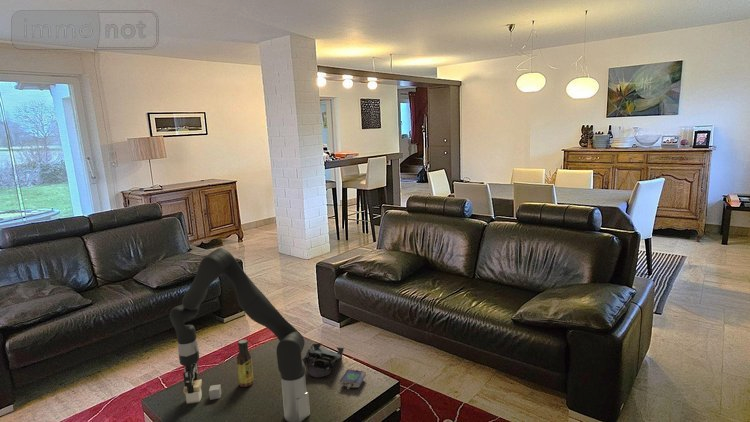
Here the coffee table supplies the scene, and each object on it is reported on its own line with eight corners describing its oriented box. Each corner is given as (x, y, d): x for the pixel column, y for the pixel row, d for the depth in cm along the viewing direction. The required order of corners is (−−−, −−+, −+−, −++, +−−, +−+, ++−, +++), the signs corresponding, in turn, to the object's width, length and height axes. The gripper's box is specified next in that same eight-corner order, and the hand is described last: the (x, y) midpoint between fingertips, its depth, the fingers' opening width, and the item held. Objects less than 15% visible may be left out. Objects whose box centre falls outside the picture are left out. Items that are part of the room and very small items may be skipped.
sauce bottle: (249, 388, 184) (245, 345, 181) (236, 387, 185) (231, 344, 182) (256, 380, 190) (252, 338, 187) (243, 379, 191) (239, 338, 188)
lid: (202, 383, 180) (201, 377, 180) (199, 391, 174) (198, 385, 174) (187, 385, 179) (186, 380, 179) (183, 393, 173) (183, 387, 173)
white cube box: (201, 395, 180) (200, 384, 180) (199, 402, 176) (198, 390, 175) (189, 397, 179) (188, 386, 179) (186, 404, 175) (185, 392, 174)
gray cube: (221, 392, 181) (220, 384, 181) (219, 398, 178) (218, 389, 177) (211, 394, 181) (210, 385, 180) (209, 399, 177) (208, 390, 176)
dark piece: (347, 358, 206) (346, 341, 204) (332, 381, 187) (331, 362, 185) (313, 355, 211) (312, 338, 209) (295, 377, 192) (294, 358, 190)
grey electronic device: (366, 371, 187) (358, 385, 177) (366, 377, 187) (358, 391, 177) (346, 368, 189) (337, 382, 179) (346, 374, 190) (337, 388, 180)
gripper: (183, 344, 180) (187, 380, 183) (174, 360, 167) (179, 398, 169) (201, 341, 182) (205, 377, 184) (194, 357, 168) (199, 395, 170)
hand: (193, 387), depth 177 cm, fingers open, 7 cm apart
